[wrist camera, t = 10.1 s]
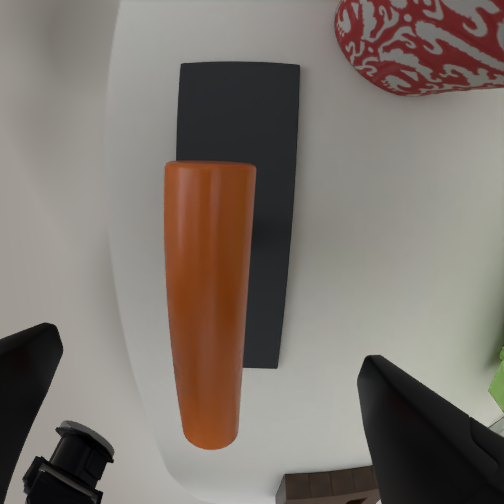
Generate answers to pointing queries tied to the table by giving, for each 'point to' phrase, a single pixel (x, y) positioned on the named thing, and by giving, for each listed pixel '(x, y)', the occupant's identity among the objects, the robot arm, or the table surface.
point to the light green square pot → (499, 384)
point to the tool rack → (330, 487)
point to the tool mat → (267, 172)
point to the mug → (424, 43)
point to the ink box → (498, 427)
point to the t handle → (208, 291)
